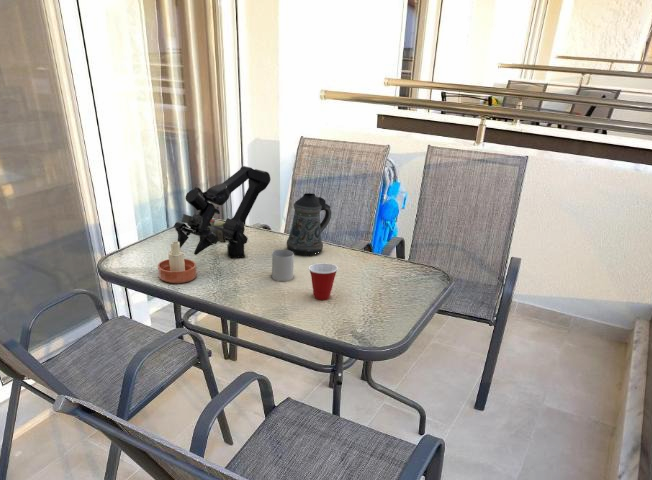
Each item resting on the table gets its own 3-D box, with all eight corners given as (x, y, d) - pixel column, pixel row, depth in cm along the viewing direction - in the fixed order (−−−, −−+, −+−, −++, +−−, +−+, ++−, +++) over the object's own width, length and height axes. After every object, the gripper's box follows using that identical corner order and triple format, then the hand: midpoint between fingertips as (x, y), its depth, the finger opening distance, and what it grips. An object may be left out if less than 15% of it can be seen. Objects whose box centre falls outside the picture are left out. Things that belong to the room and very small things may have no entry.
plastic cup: (321, 288, 195) (323, 259, 189) (341, 298, 189) (344, 267, 183) (300, 295, 189) (302, 265, 182) (321, 305, 182) (323, 274, 176)
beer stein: (279, 250, 228) (280, 194, 215) (304, 240, 242) (306, 186, 229) (308, 259, 221) (312, 201, 208) (333, 248, 235) (337, 193, 222)
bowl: (193, 268, 204) (193, 257, 202) (199, 282, 193) (198, 270, 191) (157, 271, 200) (156, 259, 197) (160, 285, 189) (159, 273, 186)
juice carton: (193, 232, 242) (192, 219, 239) (208, 228, 249) (207, 215, 246) (223, 243, 233) (223, 229, 230) (238, 238, 240) (238, 225, 237)
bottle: (187, 273, 198) (184, 240, 192) (182, 278, 194) (180, 245, 187) (173, 271, 199) (170, 239, 192) (168, 277, 194) (165, 244, 187)
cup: (296, 275, 205) (297, 252, 199) (287, 282, 198) (287, 258, 193) (278, 271, 207) (278, 248, 202) (268, 278, 201) (268, 254, 196)
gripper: (174, 200, 195) (156, 235, 192) (211, 210, 187) (192, 246, 184) (191, 216, 205) (173, 250, 202) (226, 226, 197) (208, 261, 194)
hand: (186, 251), depth 196 cm, fingers open, 9 cm apart
